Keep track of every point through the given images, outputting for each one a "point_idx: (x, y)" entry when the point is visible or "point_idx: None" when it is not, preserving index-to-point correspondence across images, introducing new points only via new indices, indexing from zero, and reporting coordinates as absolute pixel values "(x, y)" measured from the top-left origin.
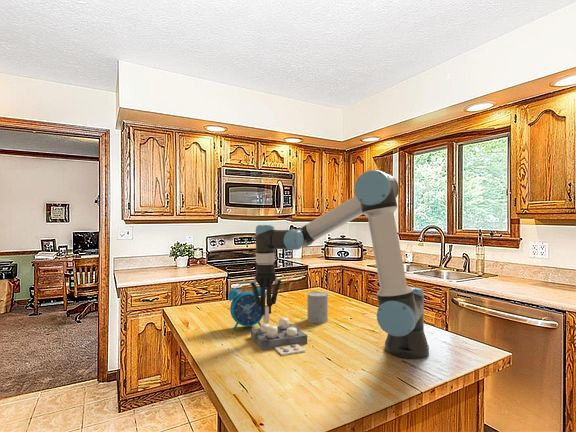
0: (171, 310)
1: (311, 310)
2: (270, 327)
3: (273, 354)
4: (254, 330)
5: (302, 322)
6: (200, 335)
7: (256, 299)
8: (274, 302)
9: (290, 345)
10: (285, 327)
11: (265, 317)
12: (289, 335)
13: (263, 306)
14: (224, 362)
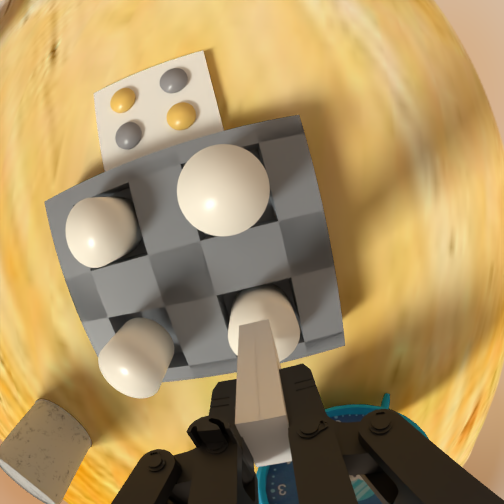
0: None
1: (54, 445)
2: (238, 183)
3: (240, 71)
4: (329, 327)
5: (101, 430)
6: (481, 342)
7: (445, 463)
8: (150, 463)
9: (138, 138)
10: (134, 321)
11: (272, 345)
12: (120, 201)
13: (312, 419)
14: (430, 63)
